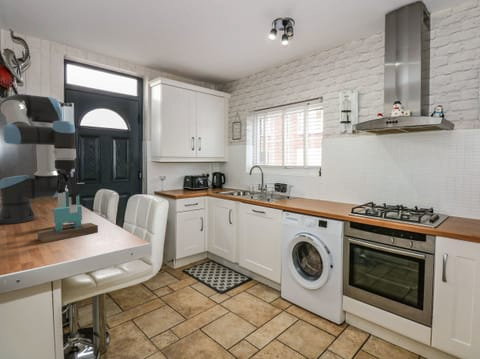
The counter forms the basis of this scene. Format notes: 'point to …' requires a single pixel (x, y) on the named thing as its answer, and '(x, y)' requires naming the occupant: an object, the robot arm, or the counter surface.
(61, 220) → the notched teal block
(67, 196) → the beverage bottle
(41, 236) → the rail
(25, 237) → the counter surface
